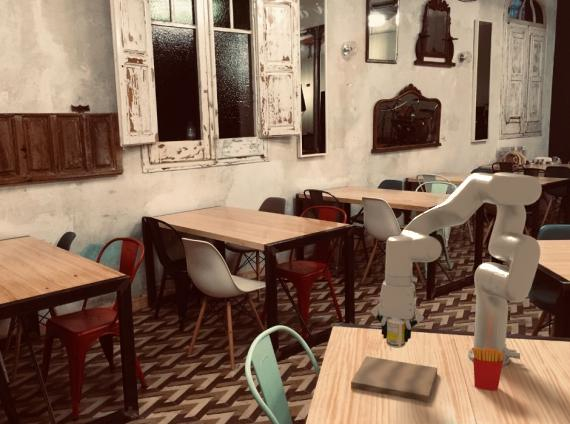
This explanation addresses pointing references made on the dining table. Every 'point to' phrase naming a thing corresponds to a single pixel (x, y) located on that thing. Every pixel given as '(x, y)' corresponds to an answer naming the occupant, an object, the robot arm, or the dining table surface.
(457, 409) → the dining table surface
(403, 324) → the supplement bottle
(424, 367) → the walnut board
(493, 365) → the french fries
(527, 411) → the dining table surface
